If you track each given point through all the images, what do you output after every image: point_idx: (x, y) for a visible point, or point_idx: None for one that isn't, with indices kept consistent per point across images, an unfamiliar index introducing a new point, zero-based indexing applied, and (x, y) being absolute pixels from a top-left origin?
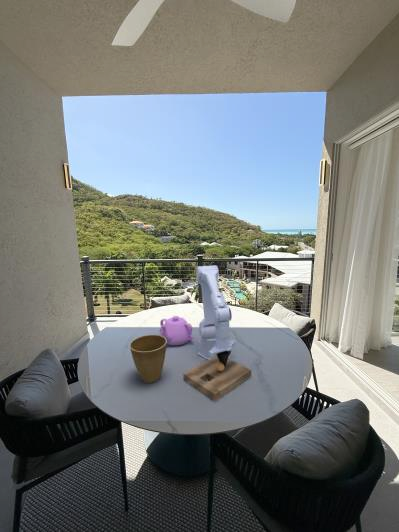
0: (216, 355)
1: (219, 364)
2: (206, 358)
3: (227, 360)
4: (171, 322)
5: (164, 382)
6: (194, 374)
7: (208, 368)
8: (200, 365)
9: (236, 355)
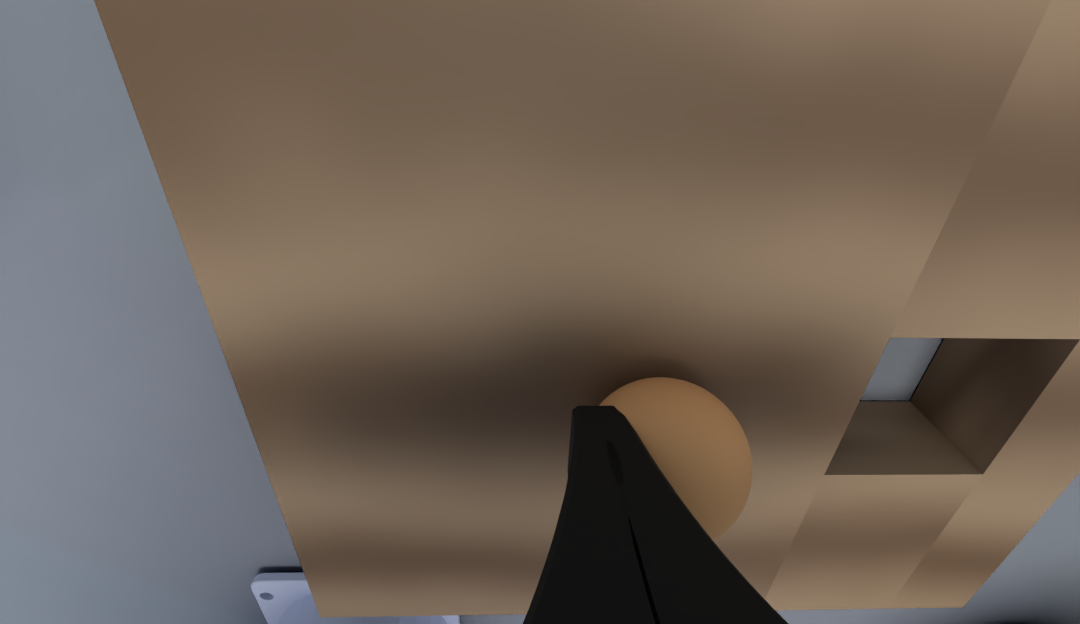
0: None
1: (728, 511)
2: (458, 615)
3: (328, 492)
4: None
5: (1006, 586)
6: (933, 541)
7: None
8: None
9: (64, 486)
